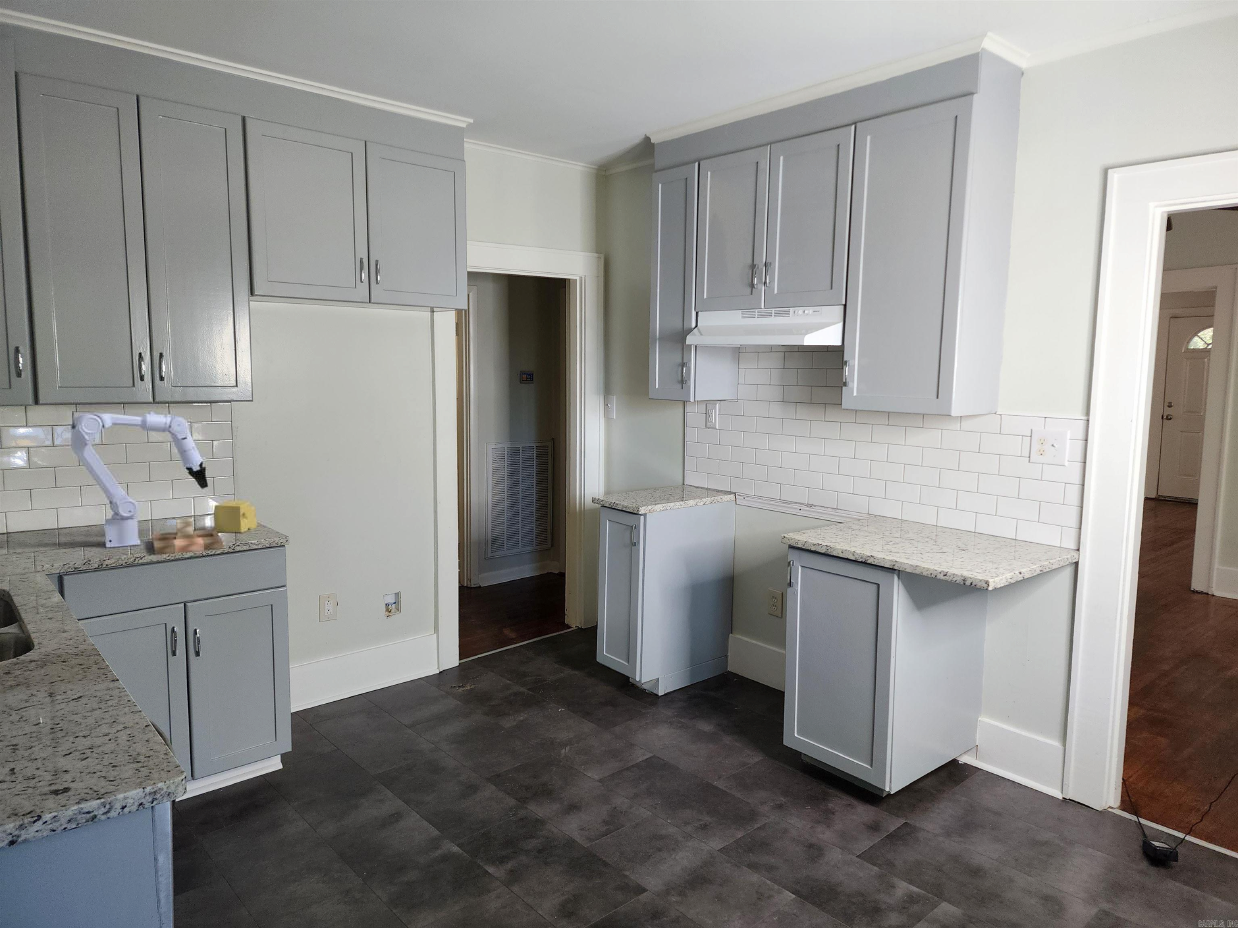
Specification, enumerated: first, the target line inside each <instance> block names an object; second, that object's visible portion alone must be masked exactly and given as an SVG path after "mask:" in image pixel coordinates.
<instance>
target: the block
mask: <svg viewBox="0 0 1238 928" xmlns="http://www.w3.org/2000/svg"><path fill="white" fill-rule="evenodd" d="M175 521H176V532H177V535H191V534H193V531H194V528H193V527H194V524H193V519H192V518H184V519H176V520H175Z"/></svg>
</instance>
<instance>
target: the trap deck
mask: <svg viewBox="0 0 1238 928" xmlns="http://www.w3.org/2000/svg"><path fill="white" fill-rule="evenodd" d="M223 542H224V540H222V538H221V536H220V534H219V532H217V531H216V530H215V528H214V529H201V530H200V529H199V530H193V534H191V535H177V531H174V532H162V533H152V534H151V543H152V545H153V551H154V555H155V556H156V555H165V554H169V555H170V554H177V553H187V552H200V551H202V552H203V551H211V550H223V549H224V543H223Z"/></svg>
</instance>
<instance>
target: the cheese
mask: <svg viewBox="0 0 1238 928" xmlns="http://www.w3.org/2000/svg"><path fill="white" fill-rule="evenodd" d="M256 513H257V512H256V508H255V507H254V506H252V504H251V503H250V502H248V501H243V500H242V501H241V500H233V499H232V500H227V501H225V502H223V503H218V504H215V505H214V508H213V521H214V529H215V530H216V531H217V533H231V532H242V533H244V531H245V532H247V531H249V530H250V531H251V530H254V528H255V529H257V526H258V520H257V518H256V516H255V515H256ZM248 529H249V530H248Z"/></svg>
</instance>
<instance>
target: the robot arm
mask: <svg viewBox="0 0 1238 928" xmlns="http://www.w3.org/2000/svg"><path fill="white" fill-rule="evenodd" d="M111 426H127V427H128V426H129V427H133V426H134V427H139V428H140V429H141V430H142V431H144V432H155V433H156V432H157V433H167V432H168V433H169V435H170V437H171V439H172V443H173V444H174V446H175V449H176V451H177V453H178V455H179V458H180V459H181V462H182V463H183V468H184V467H185V469H186V470H187V473H188V475H189V476H190V477H191V478H193V479H194V480H195V482H196V483H197V485H198V486H199V488H201V490H203V489H205V488H208V487H209V484H208V480H207V476H206V470H207V468H206V466H203V465H204V464H203V463H204V462H203V461H204V460H206V457H205V456H202V457H201V454H200V452H199V451H198V448H197V446H196V444H195V441H194V440H193V437H192V435H191V434H190V432H189V431H190V430H189V429H188V427H189V423H188V421H186V420H185V418H184V417H182V416H177V415H172V414H169V413H165V415H164V414H156V413H155V412H154V411H149V412H147V413H144V414H142V415H141V416H134V415H127V414H126V415H125V414H118V413H117V414H115V413H108V412H107V413H105V412H100V413H99V412H96V413H93V412H92V414H90V413H86V412H85V413H79V414H78V415H76V416H75V417H74V419H73V420H72V423H71V425H70V433H71V434H70V441H71V442H70V448H71V449H72V452H74V454H75V455H76V457H77V458H78V459H79V461H80V462H81V464H82V465H83V466H84V467H85V469H86V470H87V472H88V473H89V474H90V476H91V477H92V478H93V480H94V481H95V482H96V484H97V486H98V487H99V488H100V489H101V490H102V492H103V493H104V495H105V497H106V499H107V501H108V503H109V508H110V510H111V512H113V513H112V515H111V517H109V518H104V533H105V534H104V536H103V539H104V543H105V547H106V548H116V547H117V548H119V547H129V546H138V545H139V546H140V545H141V540H140V539H139V526H138V525H139V524H138V514H137V513H138V511H139V504H138V503H137V501H136V500H134V499H132V498H131V497H129V496H128V494H127V493H126V492H125V490H124V489H122V487H121V486H120V484H119V483H118V482H117V480H116V479H115V478H114V476H113V475H112V474H111V472H110V471H109V469H108V468H107V466H106V465H105V464H104V463H103V461H102V460H101V458H100V457H99V455H98V454H97V453H96V451H95V450H94V448H93V447H92V445H93V443H94V439H95V438H96V437H97V435H98V434H99V433H101V431H102V429H107V428H109V427H111Z"/></svg>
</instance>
